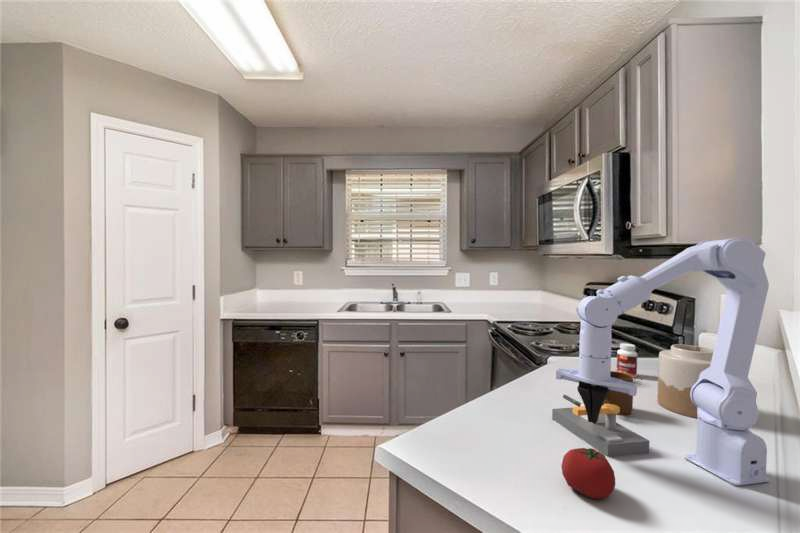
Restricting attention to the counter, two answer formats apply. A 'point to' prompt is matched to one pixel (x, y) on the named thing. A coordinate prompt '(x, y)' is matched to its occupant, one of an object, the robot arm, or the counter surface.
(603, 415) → the plug
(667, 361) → the vase
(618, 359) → the pill bottle
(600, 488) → the tomato
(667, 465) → the counter surface
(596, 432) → the grey piece
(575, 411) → the clip
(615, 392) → the mug
